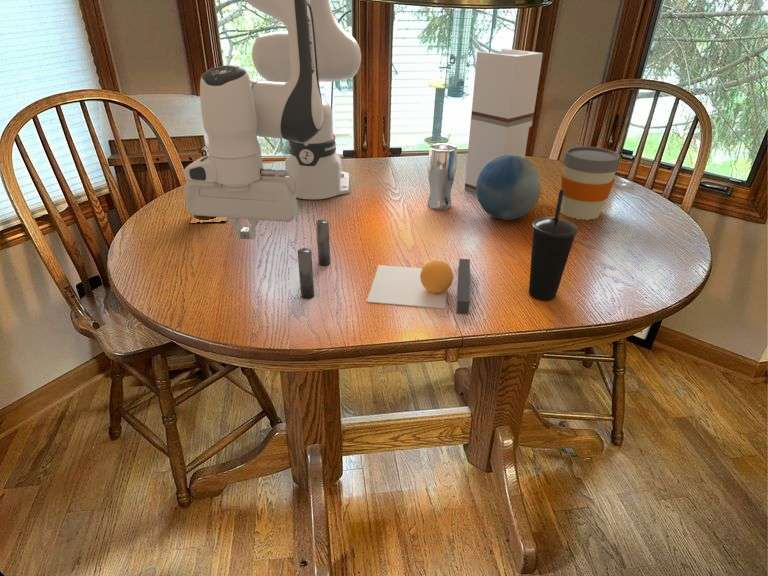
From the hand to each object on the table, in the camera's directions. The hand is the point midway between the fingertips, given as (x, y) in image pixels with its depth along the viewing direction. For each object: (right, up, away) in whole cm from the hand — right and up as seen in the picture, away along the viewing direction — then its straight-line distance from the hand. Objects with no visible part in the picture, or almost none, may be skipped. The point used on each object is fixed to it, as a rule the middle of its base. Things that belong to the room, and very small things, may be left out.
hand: (247, 237), depth 100 cm
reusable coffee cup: (+75, +9, +32) cm, 82 cm away
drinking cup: (+55, -11, -2) cm, 56 cm away
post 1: (+12, -11, -4) cm, 17 cm away
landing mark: (+31, -9, -1) cm, 32 cm away
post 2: (+14, -4, +7) cm, 16 cm away
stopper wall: (+41, -10, -2) cm, 42 cm away
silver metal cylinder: (+40, +11, +35) cm, 55 cm away
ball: (+36, -7, -3) cm, 37 cm away
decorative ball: (+55, +8, +29) cm, 63 cm away
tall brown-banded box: (+56, +17, +45) cm, 73 cm away
